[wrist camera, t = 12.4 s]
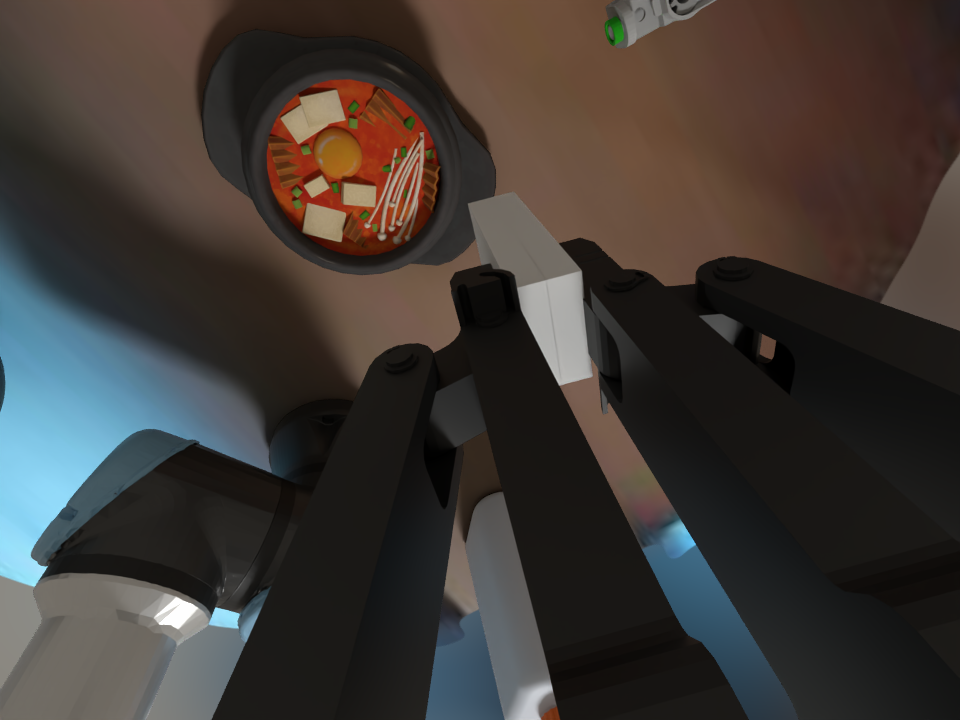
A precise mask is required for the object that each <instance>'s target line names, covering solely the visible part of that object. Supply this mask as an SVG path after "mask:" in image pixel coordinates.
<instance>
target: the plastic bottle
mask: <svg viewBox="0 0 960 720" xmlns="http://www.w3.org/2000/svg"><path fill="white" fill-rule="evenodd" d="M466 554H467V558H468V563H469V567H470V571H471V576H472V580H473V584H474V589H475V593H476V597H477V602H478V606H479V610H480V614H481V619H482V623H483V628H484V632H485V636H486V641H487V645H488V649H489V654H490V658H491V663H492V667H493V671H494V676H495V680H496V684H497V689H498V692H499V697H500V702H501V706H502V710H503V714H504V718H505V720H560V717H559V713H558V709H557V705H556V701H555V697H554V693H553V689H552V685H551V680H550V675H549V671H548V667H547V663H546V659H545V655H544V651H543V647H542V643H541V639H540V635H539V631H538V627H537V624H536V620H535V616H534V612H533V608H532V604H531V600H530V596H529V592H528V588H527V585H526V581H525V577H524V573H523V569H522V565H521V561H520V557H519V553H518V549H517V545H516V542H515V538H514V534H513V530H512V526H511V522H510V518H509V514H508V510H507V506H506V503H505V499H504V495H503V492H497V493H493V494H491V495H488V496H486V497H485V498H483V499H482V500H481V501H480V502H479V503H478V504H477V505H476V507H475V509H474V511H473V515H472V519H471V524H470V528H469V532H468V537H467V541H466Z"/></svg>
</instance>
